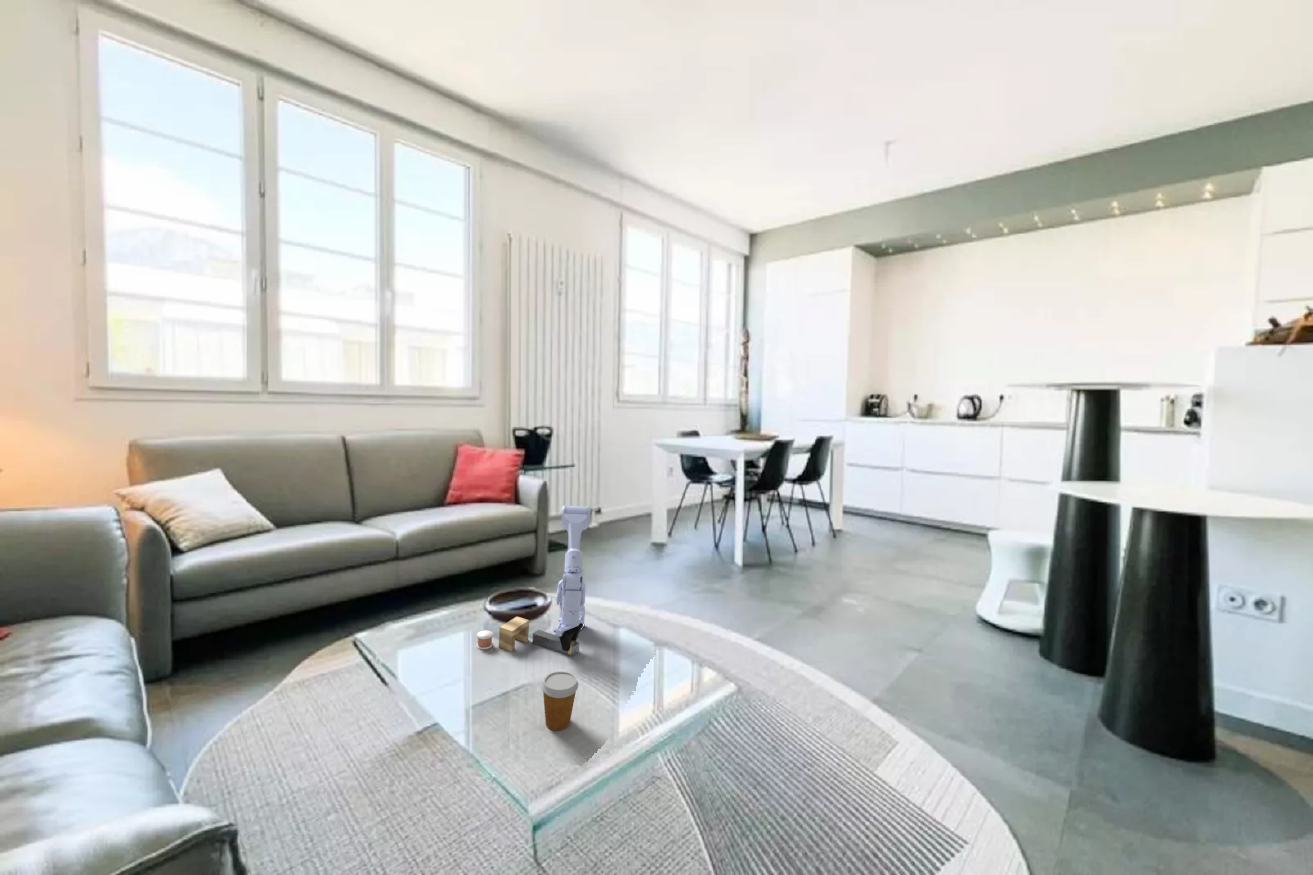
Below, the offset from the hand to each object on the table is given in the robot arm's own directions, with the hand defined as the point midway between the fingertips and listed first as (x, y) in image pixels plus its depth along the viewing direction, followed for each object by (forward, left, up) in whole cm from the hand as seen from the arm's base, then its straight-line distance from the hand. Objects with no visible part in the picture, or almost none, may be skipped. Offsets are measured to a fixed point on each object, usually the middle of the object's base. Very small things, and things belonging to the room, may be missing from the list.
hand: (568, 647), depth 183 cm
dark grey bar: (0, -5, -1) cm, 5 cm away
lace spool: (+11, -25, -1) cm, 27 cm away
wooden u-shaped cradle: (+5, -18, -1) cm, 19 cm away
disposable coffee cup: (+32, +17, -2) cm, 36 cm away
